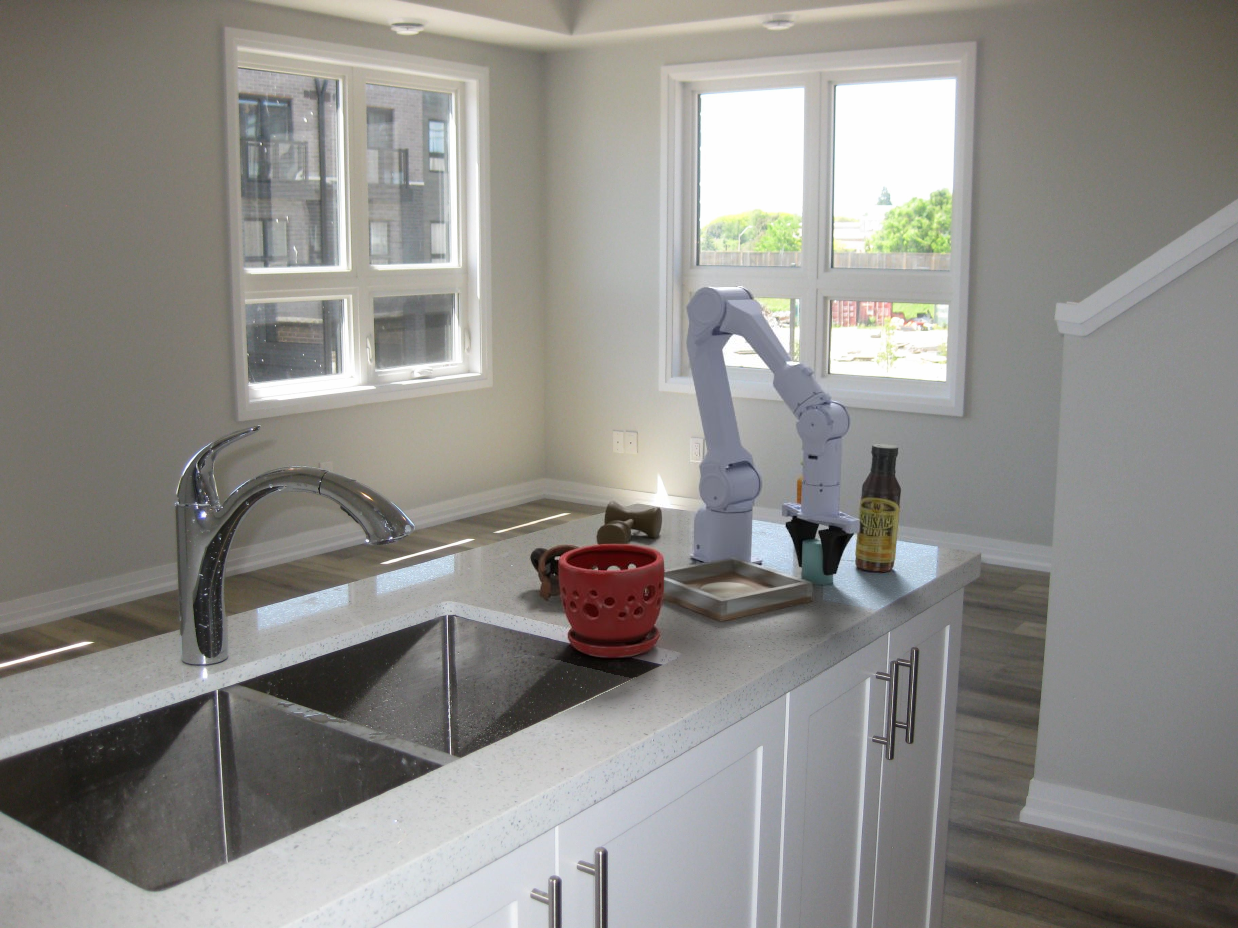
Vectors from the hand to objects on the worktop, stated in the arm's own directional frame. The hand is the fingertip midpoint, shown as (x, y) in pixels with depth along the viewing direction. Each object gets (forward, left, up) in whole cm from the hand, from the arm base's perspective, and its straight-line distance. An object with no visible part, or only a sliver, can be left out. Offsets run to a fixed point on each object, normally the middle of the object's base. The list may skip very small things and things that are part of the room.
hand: (817, 570), depth 176 cm
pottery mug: (-16, -36, -2) cm, 39 cm away
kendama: (-37, -9, -2) cm, 39 cm away
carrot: (-20, +18, -2) cm, 27 cm away
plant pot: (+8, -44, -2) cm, 45 cm away
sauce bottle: (0, +13, -2) cm, 13 cm away
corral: (-1, -17, -2) cm, 17 cm away
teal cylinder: (0, 0, -2) cm, 2 cm away
